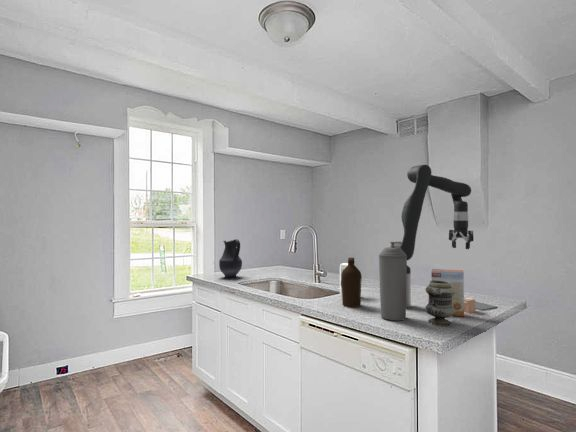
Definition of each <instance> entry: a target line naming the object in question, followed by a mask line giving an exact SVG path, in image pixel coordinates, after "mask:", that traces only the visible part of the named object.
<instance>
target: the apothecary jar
mask: <svg viewBox="0 0 576 432" xmlns="http://www.w3.org/2000/svg"><path fill="white" fill-rule="evenodd" d="M425 292H426V294H427V295H428V303H427V304H426V305H425V307H424V310H425V312H426V313H427V314H428V315H430V316H432V318H429V319H428V320H427V322H428V323H429V324H431V323H432V324H431V325H434V324H435V326H438V325H443V326H442V327H447V326H452V325H453V322H452V321H451V320H449V319H446V318H450V317H454V316H453V315H454V314H455V309H454V307H453V306H452V296H453V295H454V294H455V290H454V289H453V288H452V287H451V283H450V282H448V281H443V280H432V279H431V280H430V281H429V284H428V285H427V286H426V287H425ZM446 325H447V326H446Z"/></svg>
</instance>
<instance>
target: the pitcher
mask: <svg viewBox="0 0 576 432" xmlns="http://www.w3.org/2000/svg"><path fill="white" fill-rule="evenodd" d="M223 243H224V249H223V252H222V255H221V258H220V259H219V260H218V261H219V263H218V265H219V269H220V270H219V271H220V272H221V273H222V274H223V275H224V279H226V278H229V279H228V280H231V279H230V278H234V279H237V278H238V276H237V275H238V274H239V272H240V271H241V270H242V266H243V260H242V259H241V257H240V251H241V241H240V240H239V239H237V238H236V239H235V238H234V239H231V240H228V241H226V240H223Z"/></svg>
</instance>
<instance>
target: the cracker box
mask: <svg viewBox="0 0 576 432" xmlns="http://www.w3.org/2000/svg"><path fill="white" fill-rule="evenodd" d="M464 273H465V272H464V270H461V269H460V270H458V269H442V268H441V269H439V268H438V269H437V268H433V269H432V270H431V281H432V280H443V281H448V282H450V283H451V287H452V288H453V289H454V290H455V294H454V295H453V296H452V306H453V307H454V309H455V314H454V315H453V316H452V317H461V318H462V317H465V312H464V298H465V285H464V282H465V279H464V278H465V277H464Z"/></svg>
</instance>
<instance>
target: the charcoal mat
mask: <svg viewBox="0 0 576 432" xmlns="http://www.w3.org/2000/svg"><path fill="white" fill-rule="evenodd" d="M494 309H498V306H496V305H492V304H490V303H489V304H488V303H483V302H479V301H475V310H478V311H480V312H481V311H482V312H483V311H486V310H494Z"/></svg>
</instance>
